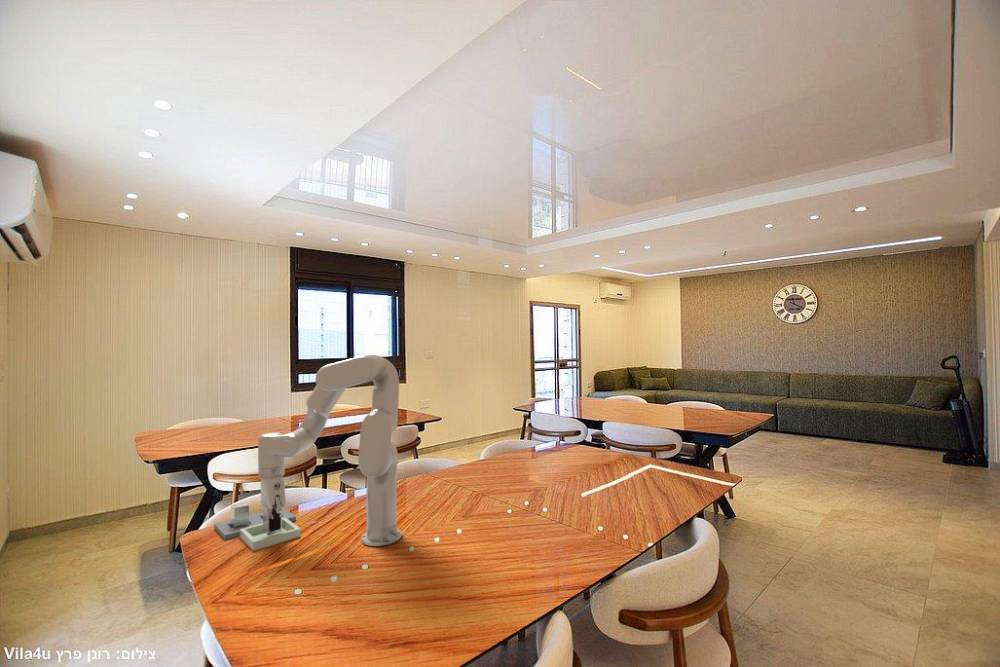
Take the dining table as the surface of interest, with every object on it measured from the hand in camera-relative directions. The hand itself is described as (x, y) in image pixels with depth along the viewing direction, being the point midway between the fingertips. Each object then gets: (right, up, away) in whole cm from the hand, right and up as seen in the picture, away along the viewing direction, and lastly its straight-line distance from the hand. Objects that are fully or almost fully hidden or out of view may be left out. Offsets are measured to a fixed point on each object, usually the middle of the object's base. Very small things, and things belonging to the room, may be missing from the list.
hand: (272, 527), depth 142 cm
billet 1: (-15, -4, +7) cm, 17 cm away
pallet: (-11, -5, +10) cm, 16 cm away
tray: (-1, -4, 0) cm, 4 cm away
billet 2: (0, -1, 0) cm, 1 cm away
